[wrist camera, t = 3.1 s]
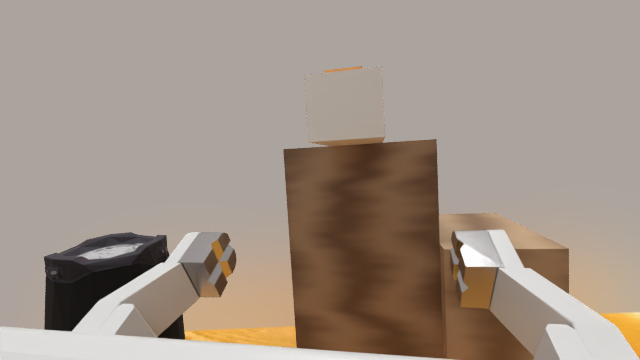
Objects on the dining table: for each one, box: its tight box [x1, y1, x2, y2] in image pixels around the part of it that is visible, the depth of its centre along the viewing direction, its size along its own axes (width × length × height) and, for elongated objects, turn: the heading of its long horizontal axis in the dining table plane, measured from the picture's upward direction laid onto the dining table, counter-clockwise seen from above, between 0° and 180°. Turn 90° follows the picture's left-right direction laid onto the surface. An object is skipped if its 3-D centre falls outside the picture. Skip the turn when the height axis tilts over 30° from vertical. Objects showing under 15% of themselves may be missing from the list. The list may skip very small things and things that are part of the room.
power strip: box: [304, 66, 385, 146], centre depth 28 cm, size 4×24×4 cm, turn 170°
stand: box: [284, 139, 569, 360], centre depth 30 cm, size 20×14×26 cm
